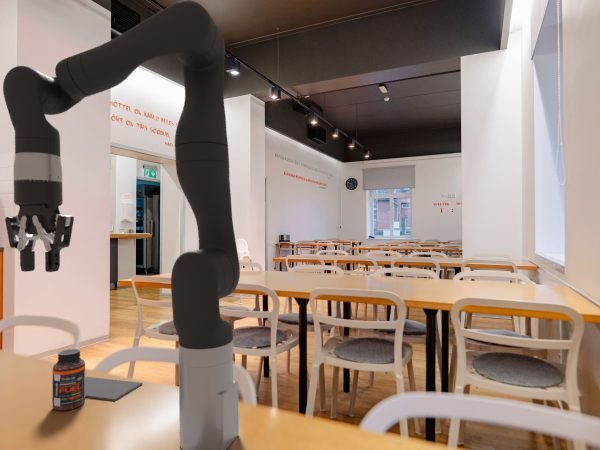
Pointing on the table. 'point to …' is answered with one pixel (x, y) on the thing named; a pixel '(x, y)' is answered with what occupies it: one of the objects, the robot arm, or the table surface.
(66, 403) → the supplement bottle
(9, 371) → the table surface
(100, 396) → the rubber mat
